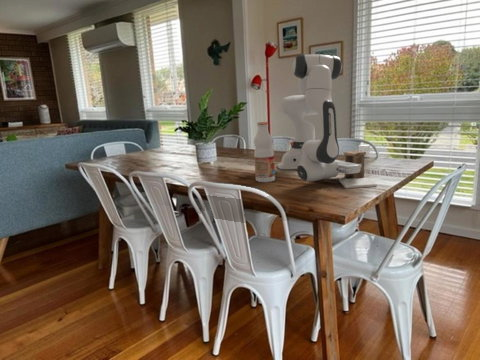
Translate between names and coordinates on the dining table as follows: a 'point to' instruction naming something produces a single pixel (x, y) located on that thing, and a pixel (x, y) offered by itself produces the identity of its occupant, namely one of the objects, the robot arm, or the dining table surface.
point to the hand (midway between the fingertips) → (353, 163)
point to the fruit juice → (264, 154)
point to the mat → (357, 182)
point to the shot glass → (365, 149)
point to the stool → (355, 158)
